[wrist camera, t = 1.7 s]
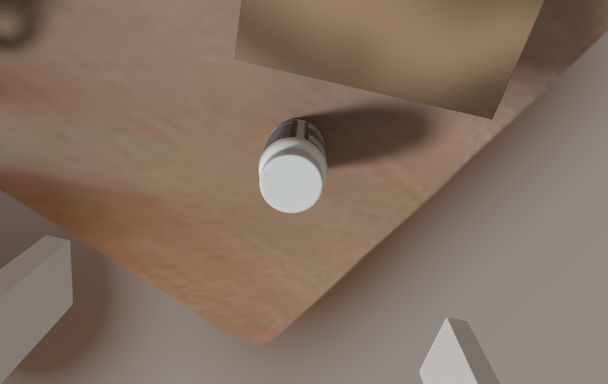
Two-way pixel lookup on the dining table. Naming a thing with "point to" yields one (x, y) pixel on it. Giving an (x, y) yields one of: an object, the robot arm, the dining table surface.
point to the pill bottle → (293, 166)
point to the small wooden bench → (394, 45)
